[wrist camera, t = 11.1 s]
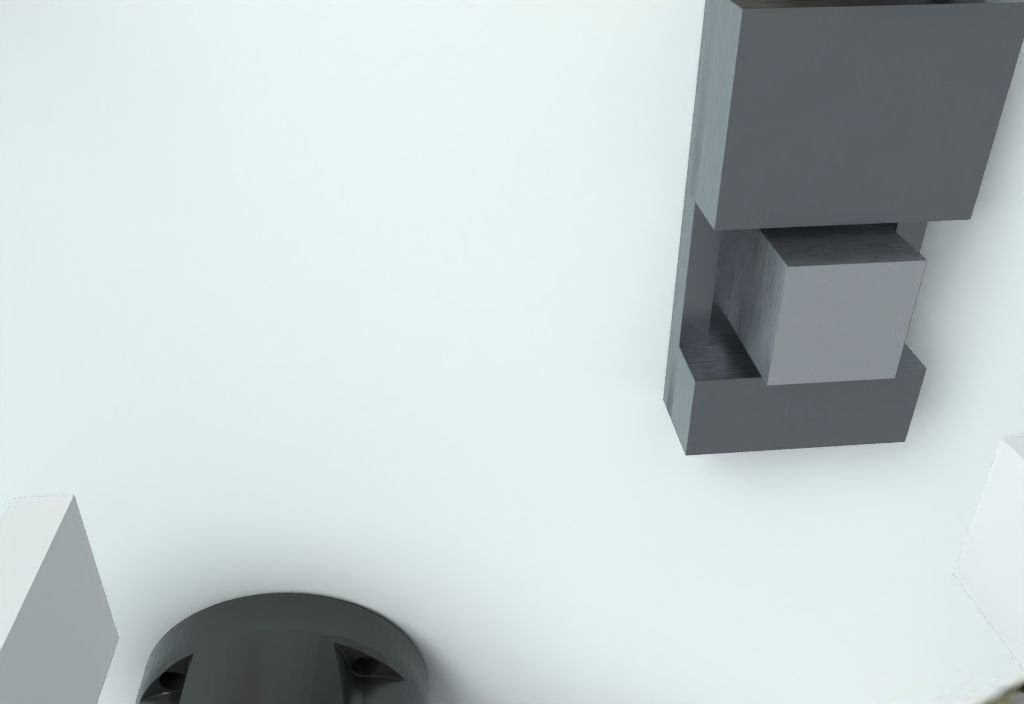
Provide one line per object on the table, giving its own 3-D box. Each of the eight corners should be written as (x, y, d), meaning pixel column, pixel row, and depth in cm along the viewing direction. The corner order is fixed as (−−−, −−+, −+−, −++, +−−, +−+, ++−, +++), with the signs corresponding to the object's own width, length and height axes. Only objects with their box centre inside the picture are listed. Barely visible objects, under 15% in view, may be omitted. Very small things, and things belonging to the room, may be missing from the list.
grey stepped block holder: (865, 388, 41) (904, 441, 38) (663, 399, 41) (685, 455, 37) (1063, -394, 26) (1158, -420, 23) (747, -397, 25) (798, -425, 22)
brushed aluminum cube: (842, 312, 38) (894, 378, 34) (727, 318, 38) (766, 385, 34) (866, 204, 35) (926, 260, 31) (743, 209, 35) (788, 266, 31)
